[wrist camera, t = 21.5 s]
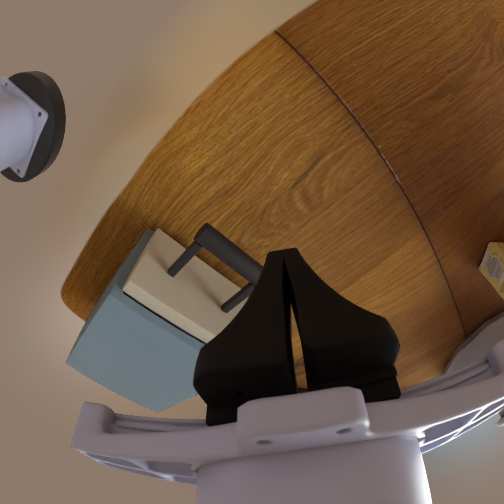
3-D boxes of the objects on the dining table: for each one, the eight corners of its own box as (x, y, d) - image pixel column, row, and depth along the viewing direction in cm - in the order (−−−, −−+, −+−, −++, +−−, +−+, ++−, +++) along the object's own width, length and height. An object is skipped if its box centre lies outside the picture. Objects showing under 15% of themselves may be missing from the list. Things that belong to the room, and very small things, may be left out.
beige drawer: (194, 184, 20) (170, 227, 14) (287, 261, 23) (297, 320, 18) (102, 303, 27) (78, 351, 21) (175, 349, 30) (163, 399, 25)
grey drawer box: (148, 227, 23) (108, 293, 16) (244, 297, 27) (241, 372, 20) (94, 305, 28) (65, 363, 21) (170, 353, 32) (157, 413, 25)
